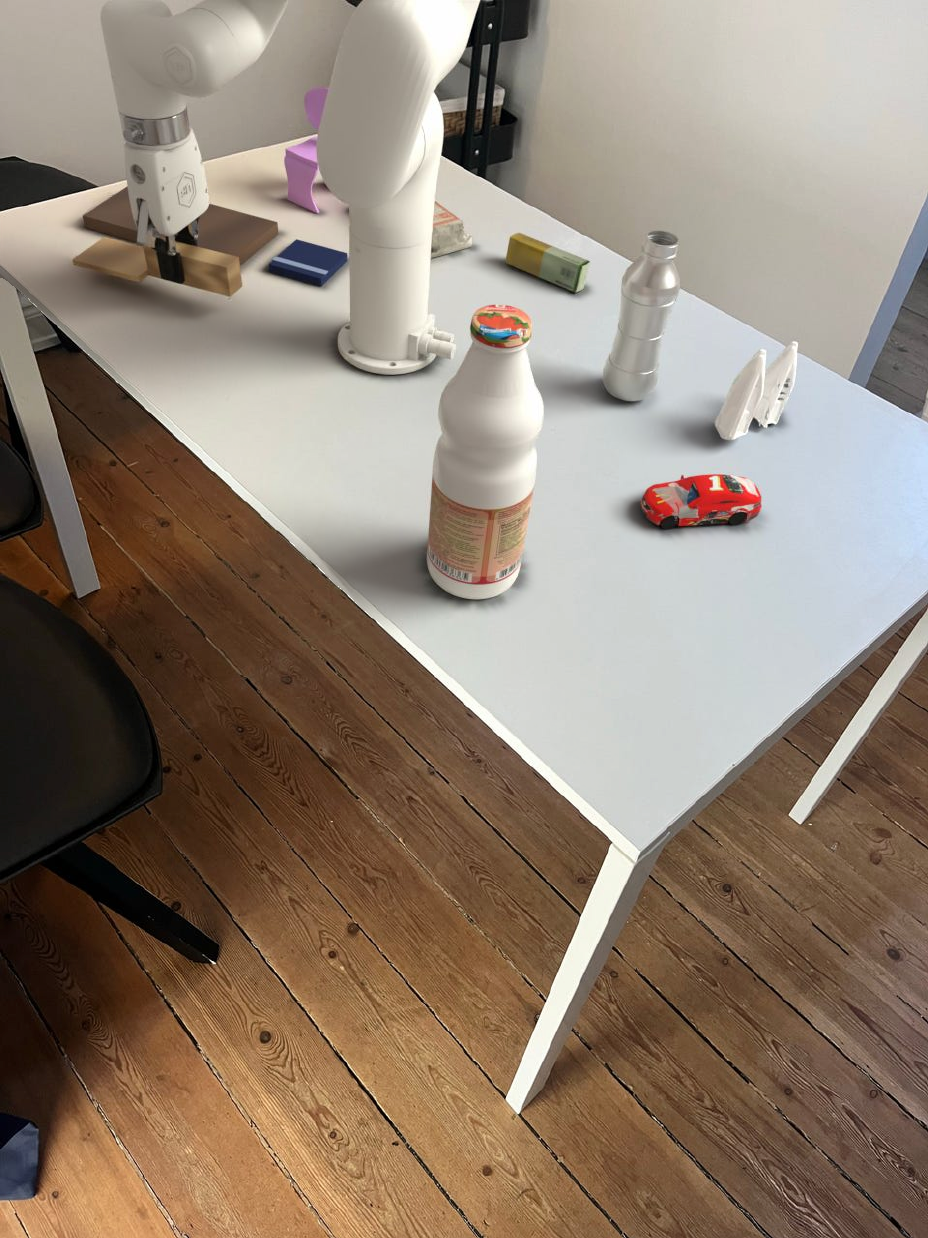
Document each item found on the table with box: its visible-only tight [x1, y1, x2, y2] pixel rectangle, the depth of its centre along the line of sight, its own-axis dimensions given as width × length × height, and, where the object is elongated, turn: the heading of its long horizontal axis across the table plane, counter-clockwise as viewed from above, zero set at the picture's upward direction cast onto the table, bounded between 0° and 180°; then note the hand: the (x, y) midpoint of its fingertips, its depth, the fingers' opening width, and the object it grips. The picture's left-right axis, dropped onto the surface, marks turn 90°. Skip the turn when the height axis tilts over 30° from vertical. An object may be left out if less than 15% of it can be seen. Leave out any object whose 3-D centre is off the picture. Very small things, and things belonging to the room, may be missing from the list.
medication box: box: [504, 232, 591, 294], centre depth 137 cm, size 12×3×4 cm, turn 57°
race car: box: [639, 473, 762, 530], centre depth 106 cm, size 13×5×4 cm, turn 98°
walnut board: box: [82, 185, 279, 267], centre depth 139 cm, size 24×12×2 cm, turn 69°
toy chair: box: [283, 86, 329, 214], centre depth 144 cm, size 8×9×15 cm
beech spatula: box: [71, 236, 243, 298], centre depth 125 cm, size 22×7×4 cm, turn 69°
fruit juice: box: [426, 304, 545, 600], centre depth 88 cm, size 9×9×28 cm
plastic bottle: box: [602, 229, 681, 402], centre depth 114 cm, size 6×7×20 cm
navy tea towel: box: [267, 239, 348, 287], centre depth 135 cm, size 8×8×1 cm
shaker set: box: [714, 341, 799, 441], centre depth 114 cm, size 12×4×11 cm, turn 130°
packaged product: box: [431, 200, 473, 259], centre depth 143 cm, size 18×5×10 cm
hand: (181, 272), depth 126 cm, fingers closed on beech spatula, 3 cm apart
